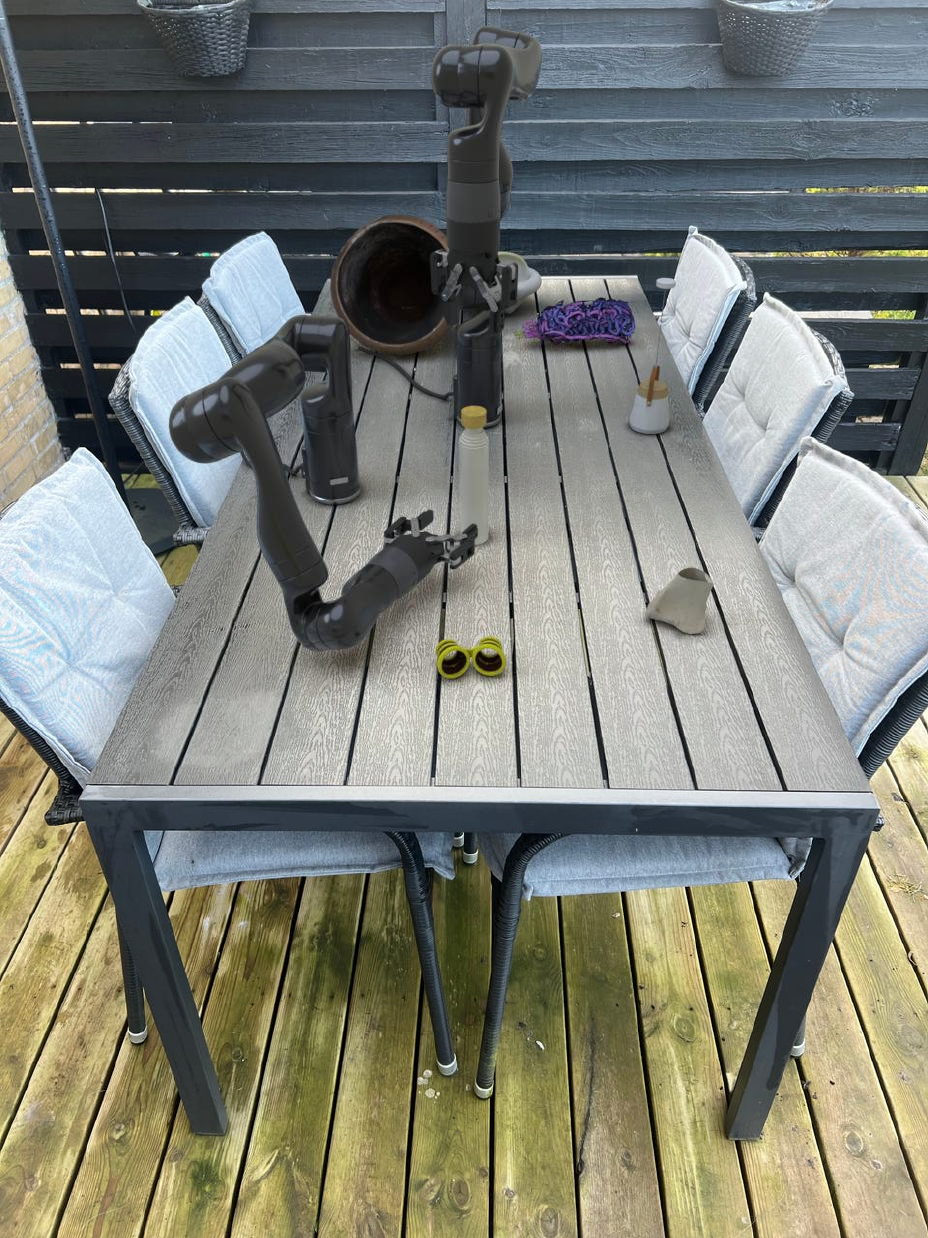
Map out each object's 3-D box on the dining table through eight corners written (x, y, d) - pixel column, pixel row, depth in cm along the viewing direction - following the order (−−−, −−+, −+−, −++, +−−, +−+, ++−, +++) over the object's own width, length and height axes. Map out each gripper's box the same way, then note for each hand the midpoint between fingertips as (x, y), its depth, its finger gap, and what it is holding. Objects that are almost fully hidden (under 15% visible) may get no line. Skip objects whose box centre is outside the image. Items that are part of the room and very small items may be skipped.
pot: (366, 206, 239) (363, 182, 210) (477, 263, 245) (489, 246, 216) (317, 325, 245) (307, 317, 216) (426, 378, 251) (431, 377, 222)
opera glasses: (501, 660, 136) (501, 629, 134) (506, 678, 131) (506, 646, 129) (435, 664, 136) (434, 634, 133) (438, 682, 131) (436, 651, 129)
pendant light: (664, 436, 191) (684, 289, 173) (625, 431, 193) (640, 285, 175) (671, 420, 197) (691, 276, 179) (633, 414, 199) (649, 272, 181)
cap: (485, 417, 150) (485, 405, 149) (487, 428, 147) (487, 415, 146) (460, 418, 150) (460, 406, 149) (462, 429, 147) (462, 416, 146)
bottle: (487, 529, 164) (487, 406, 150) (489, 544, 160) (490, 419, 146) (459, 530, 163) (457, 407, 149) (461, 545, 160) (459, 420, 145)
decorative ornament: (642, 323, 223) (518, 325, 220) (633, 359, 231) (514, 362, 228) (631, 290, 230) (511, 291, 228) (623, 326, 239) (508, 328, 236)
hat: (455, 295, 261) (454, 240, 252) (532, 292, 263) (534, 237, 254) (465, 327, 242) (464, 268, 233) (548, 323, 244) (550, 264, 235)
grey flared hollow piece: (698, 626, 144) (712, 564, 142) (708, 640, 137) (723, 575, 134) (641, 618, 144) (654, 555, 142) (648, 632, 137) (662, 566, 134)
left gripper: (435, 562, 137) (490, 513, 148) (357, 535, 143) (416, 490, 154) (436, 603, 142) (490, 552, 152) (361, 575, 148) (418, 528, 158)
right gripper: (531, 214, 128) (527, 331, 138) (446, 200, 135) (449, 312, 145) (502, 226, 123) (500, 347, 134) (415, 211, 130) (420, 327, 140)
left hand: (453, 521), depth 153 cm, fingers open, 8 cm apart
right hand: (473, 328), depth 139 cm, fingers open, 7 cm apart
